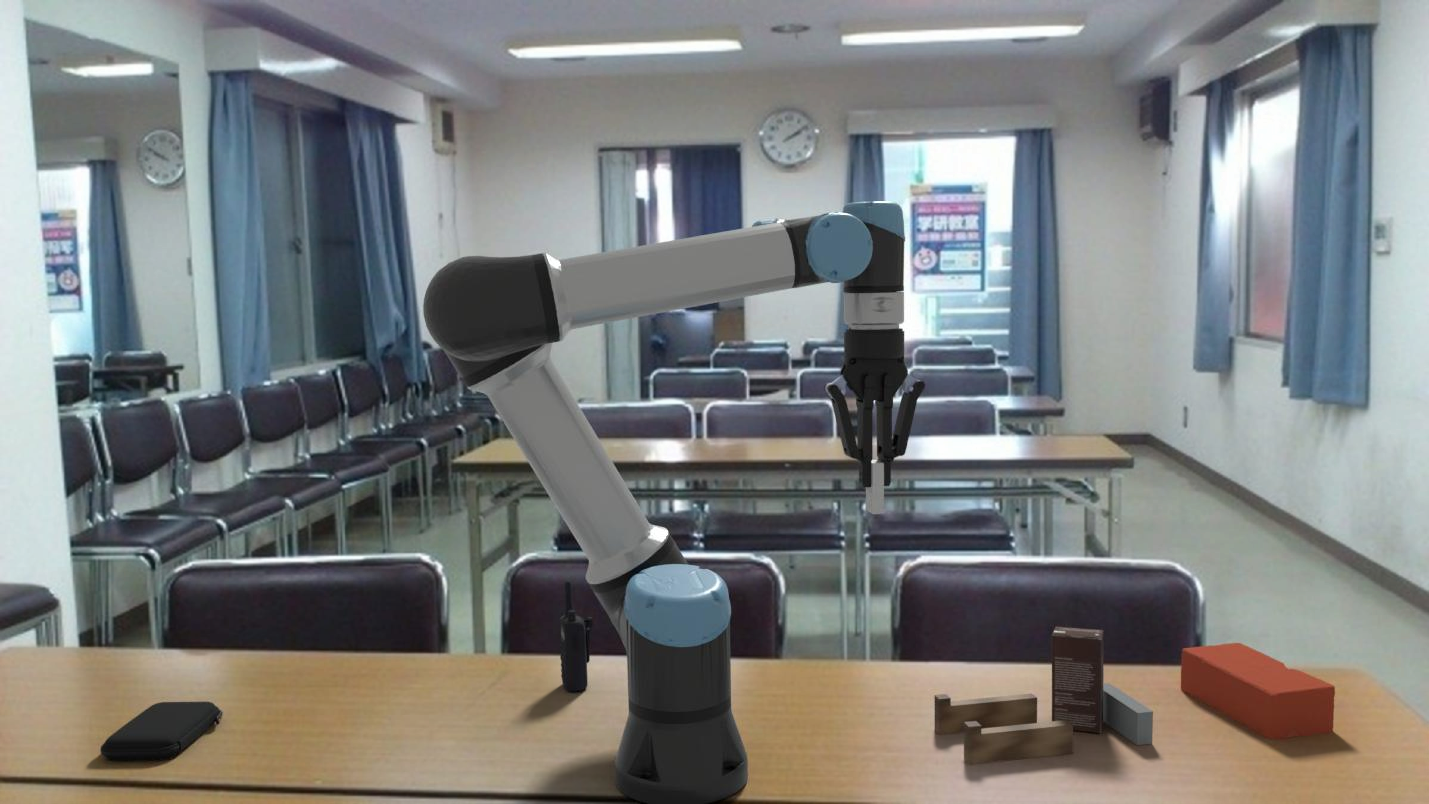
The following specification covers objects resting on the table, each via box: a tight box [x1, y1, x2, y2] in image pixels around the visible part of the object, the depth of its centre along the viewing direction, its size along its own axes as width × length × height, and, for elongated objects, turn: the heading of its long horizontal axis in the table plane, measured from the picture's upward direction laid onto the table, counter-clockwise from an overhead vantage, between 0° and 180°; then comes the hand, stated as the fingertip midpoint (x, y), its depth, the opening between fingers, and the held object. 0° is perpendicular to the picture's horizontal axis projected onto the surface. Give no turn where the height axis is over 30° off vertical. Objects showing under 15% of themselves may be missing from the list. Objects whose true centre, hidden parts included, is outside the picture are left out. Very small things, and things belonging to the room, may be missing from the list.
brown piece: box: [934, 693, 1074, 765], centre depth 142 cm, size 13×11×4 cm
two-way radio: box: [559, 579, 594, 692], centre depth 164 cm, size 6×4×15 cm
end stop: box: [1103, 682, 1154, 746], centre depth 146 cm, size 2×10×4 cm, turn 11°
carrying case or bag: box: [100, 701, 224, 762], centre depth 149 cm, size 11×3×15 cm
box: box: [1051, 626, 1105, 734], centre depth 147 cm, size 6×4×12 cm
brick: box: [1180, 642, 1336, 740], centre depth 151 cm, size 18×9×6 cm, turn 13°
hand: (874, 511), depth 150 cm, fingers closed
